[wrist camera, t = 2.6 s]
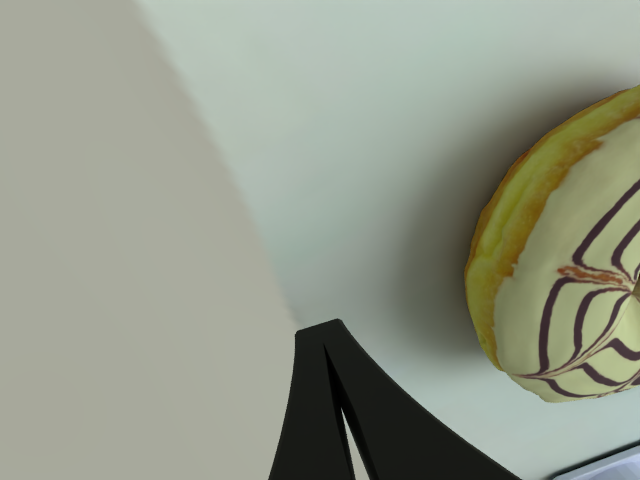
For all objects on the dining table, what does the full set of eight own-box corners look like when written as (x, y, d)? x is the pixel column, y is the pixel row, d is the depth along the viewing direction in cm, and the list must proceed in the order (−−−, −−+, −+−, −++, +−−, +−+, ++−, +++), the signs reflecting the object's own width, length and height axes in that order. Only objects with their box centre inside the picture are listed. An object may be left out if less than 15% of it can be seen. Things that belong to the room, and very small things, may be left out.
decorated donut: (606, 342, 15) (706, 413, 12) (406, 345, 13) (463, 438, 9) (762, 111, 11) (978, 123, 8) (515, 41, 9) (688, 13, 5)
